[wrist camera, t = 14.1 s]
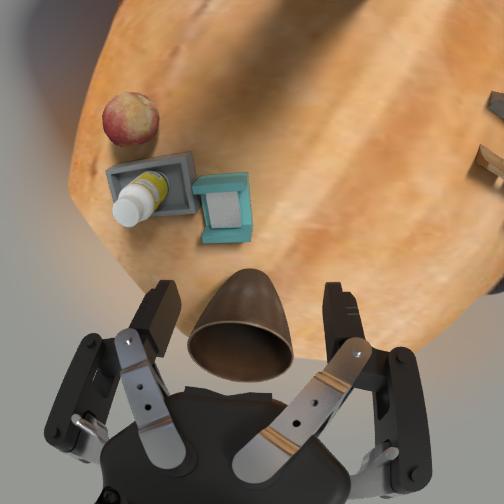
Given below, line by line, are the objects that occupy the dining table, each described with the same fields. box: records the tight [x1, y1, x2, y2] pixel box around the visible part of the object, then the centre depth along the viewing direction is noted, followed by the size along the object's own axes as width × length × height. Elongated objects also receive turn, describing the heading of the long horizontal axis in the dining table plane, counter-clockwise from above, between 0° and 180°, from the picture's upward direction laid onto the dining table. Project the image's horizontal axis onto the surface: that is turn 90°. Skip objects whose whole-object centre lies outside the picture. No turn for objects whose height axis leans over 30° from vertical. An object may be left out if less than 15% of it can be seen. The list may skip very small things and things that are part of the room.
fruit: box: [102, 92, 160, 147], centre depth 30 cm, size 8×8×8 cm
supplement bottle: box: [113, 169, 170, 227], centre depth 35 cm, size 5×5×10 cm
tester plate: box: [206, 191, 242, 229], centre depth 38 cm, size 6×4×1 cm
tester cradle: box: [192, 172, 253, 243], centre depth 39 cm, size 9×7×4 cm
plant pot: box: [187, 269, 294, 383], centre depth 43 cm, size 15×15×16 cm
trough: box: [105, 152, 201, 217], centre depth 39 cm, size 9×14×3 cm, turn 95°
